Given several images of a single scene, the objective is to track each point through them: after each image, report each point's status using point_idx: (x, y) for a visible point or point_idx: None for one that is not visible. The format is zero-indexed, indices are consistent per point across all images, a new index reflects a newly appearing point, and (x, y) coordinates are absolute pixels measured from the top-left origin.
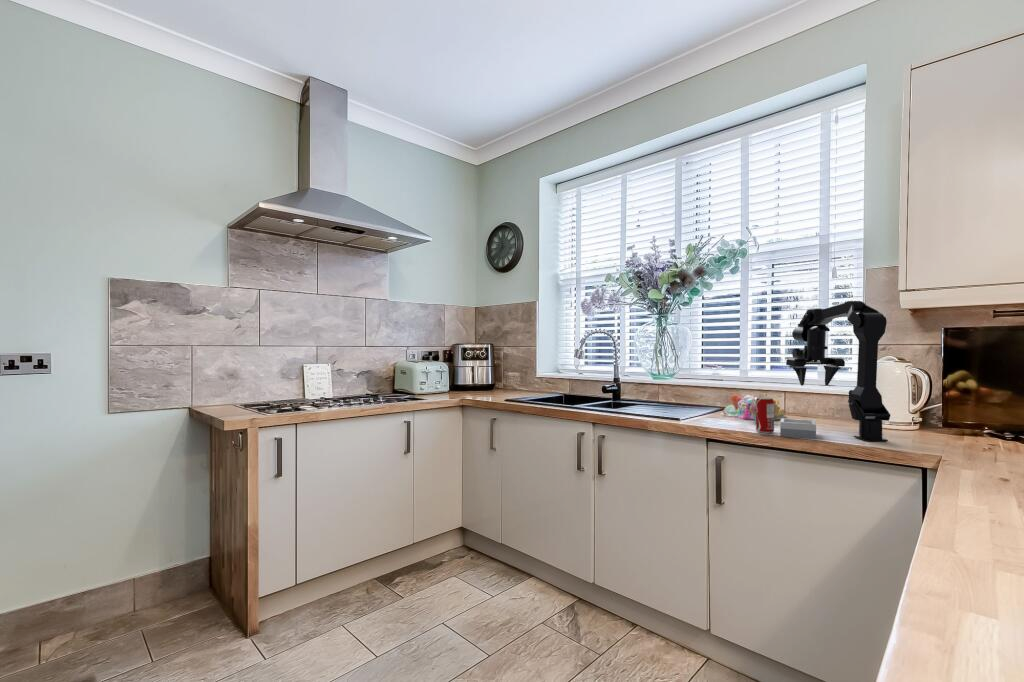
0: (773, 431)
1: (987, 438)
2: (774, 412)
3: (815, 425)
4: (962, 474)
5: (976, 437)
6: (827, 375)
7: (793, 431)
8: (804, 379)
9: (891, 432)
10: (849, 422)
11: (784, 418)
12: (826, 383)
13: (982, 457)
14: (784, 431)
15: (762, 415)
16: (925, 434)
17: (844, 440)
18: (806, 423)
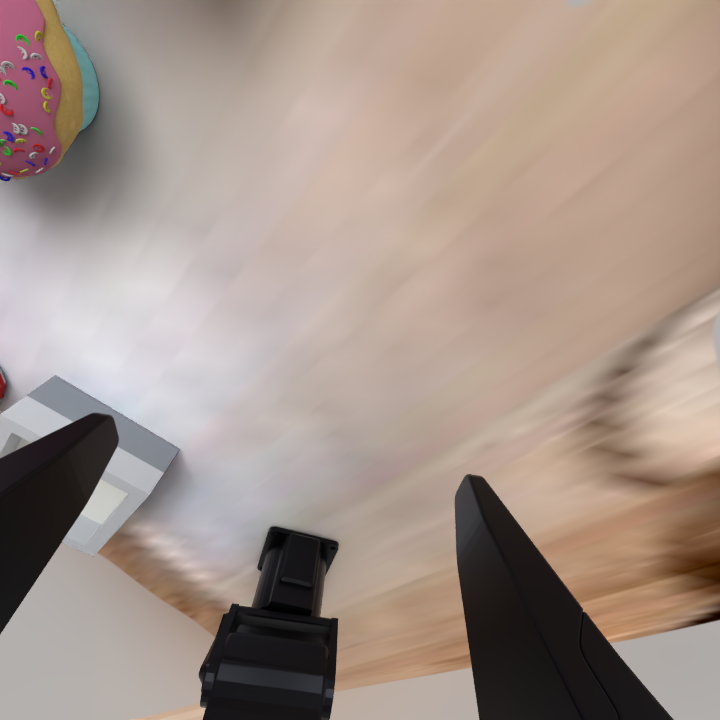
0: (2, 395)
1: (674, 608)
2: (60, 151)
3: (93, 552)
4: (201, 709)
5: (667, 596)
6: (503, 657)
7: None
8: (49, 551)
9: (514, 494)
10: (689, 225)
11: (16, 426)
12: (459, 514)
13: (362, 681)
14: None
15: None
16: (584, 540)
17: (205, 541)
18: (65, 536)
